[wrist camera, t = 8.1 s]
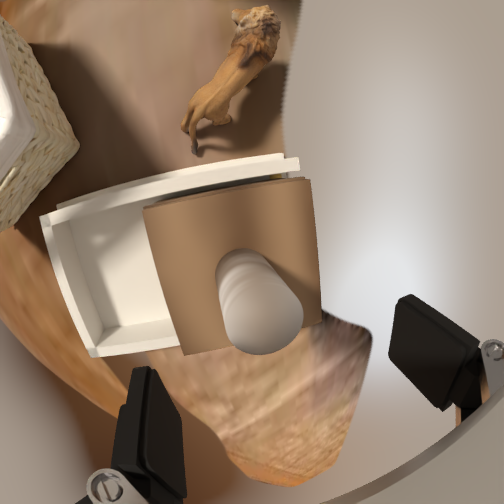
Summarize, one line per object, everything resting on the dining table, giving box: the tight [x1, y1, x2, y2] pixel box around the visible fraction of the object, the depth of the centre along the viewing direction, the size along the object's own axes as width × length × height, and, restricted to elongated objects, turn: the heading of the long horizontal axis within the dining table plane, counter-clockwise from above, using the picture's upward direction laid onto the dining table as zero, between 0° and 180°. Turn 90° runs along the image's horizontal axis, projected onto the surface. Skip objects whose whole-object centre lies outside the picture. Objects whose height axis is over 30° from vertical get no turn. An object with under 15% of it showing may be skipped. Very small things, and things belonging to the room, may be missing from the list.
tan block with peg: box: [142, 177, 322, 356], centre depth 20 cm, size 12×12×15 cm
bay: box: [40, 153, 300, 358], centre depth 26 cm, size 25×17×5 cm
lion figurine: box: [181, 5, 281, 154], centre depth 20 cm, size 15×5×9 cm, turn 158°
